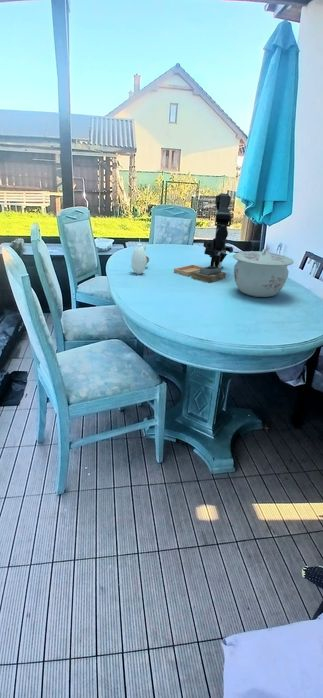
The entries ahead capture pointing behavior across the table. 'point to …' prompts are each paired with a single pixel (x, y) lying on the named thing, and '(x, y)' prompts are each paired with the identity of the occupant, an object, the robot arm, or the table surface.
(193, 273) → the dock
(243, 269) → the chamber pot
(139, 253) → the sauce bottle
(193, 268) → the tray
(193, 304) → the table surface
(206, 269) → the caddy
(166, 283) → the table surface
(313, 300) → the table surface
